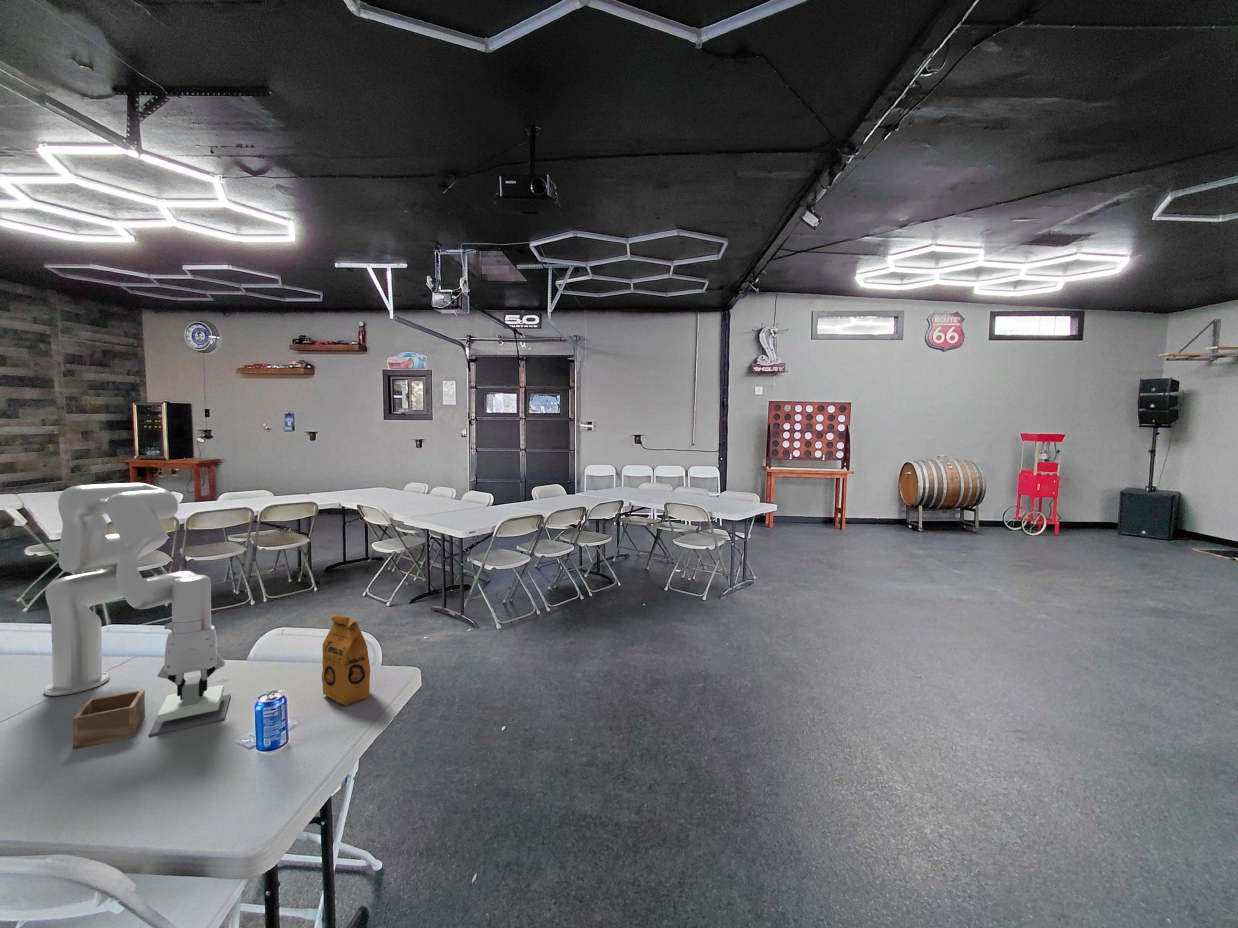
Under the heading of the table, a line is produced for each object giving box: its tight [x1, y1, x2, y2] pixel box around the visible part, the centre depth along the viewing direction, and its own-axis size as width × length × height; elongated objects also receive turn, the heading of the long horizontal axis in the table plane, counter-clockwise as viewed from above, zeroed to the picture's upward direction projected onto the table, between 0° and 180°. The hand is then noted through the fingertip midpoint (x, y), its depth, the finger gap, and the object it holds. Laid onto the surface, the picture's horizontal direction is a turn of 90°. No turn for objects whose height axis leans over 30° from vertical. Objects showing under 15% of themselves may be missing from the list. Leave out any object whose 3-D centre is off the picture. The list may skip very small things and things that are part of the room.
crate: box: [71, 689, 146, 750], centre depth 118 cm, size 10×10×7 cm
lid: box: [156, 674, 225, 723], centre depth 126 cm, size 11×11×6 cm
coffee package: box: [321, 614, 371, 707], centre depth 137 cm, size 10×12×22 cm
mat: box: [148, 693, 231, 737], centre depth 127 cm, size 14×14×1 cm
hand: (192, 695), depth 127 cm, fingers closed on lid, 3 cm apart
